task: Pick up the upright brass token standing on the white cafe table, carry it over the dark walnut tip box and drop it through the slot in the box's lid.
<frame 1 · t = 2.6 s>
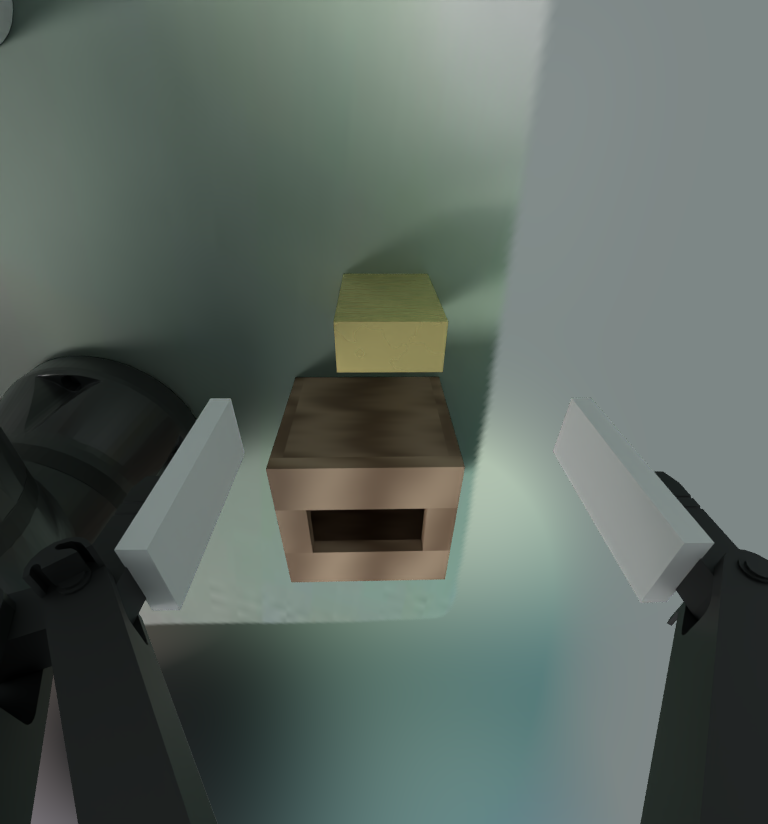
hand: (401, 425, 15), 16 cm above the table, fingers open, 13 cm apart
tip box: (368, 433, 36), on the table
token: (385, 294, 28), on the table
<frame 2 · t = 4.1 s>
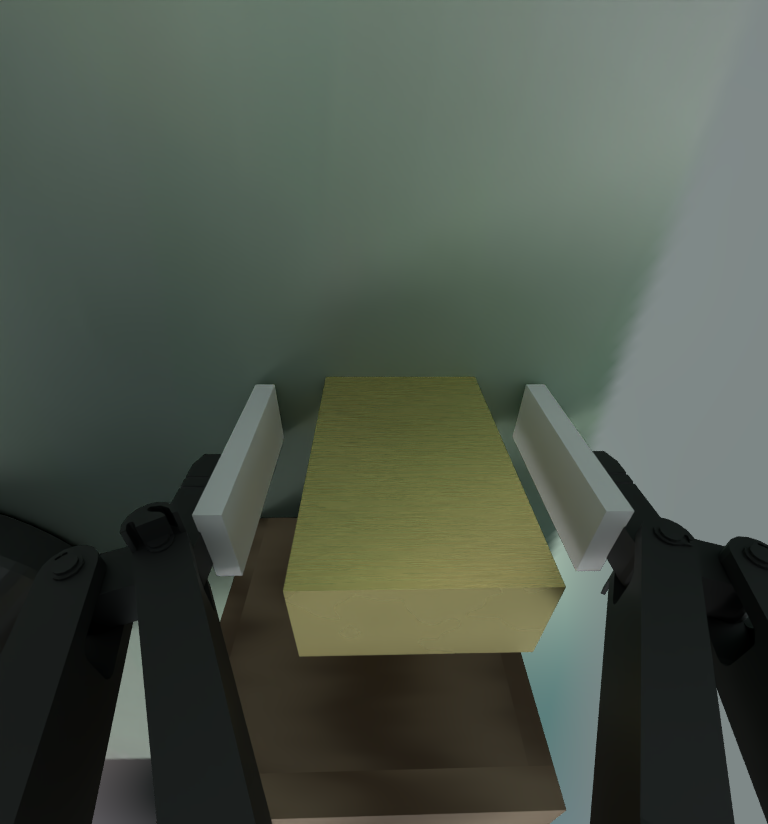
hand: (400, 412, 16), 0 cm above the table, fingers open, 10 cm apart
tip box: (369, 581, 24), on the table
token: (399, 407, 16), on the table
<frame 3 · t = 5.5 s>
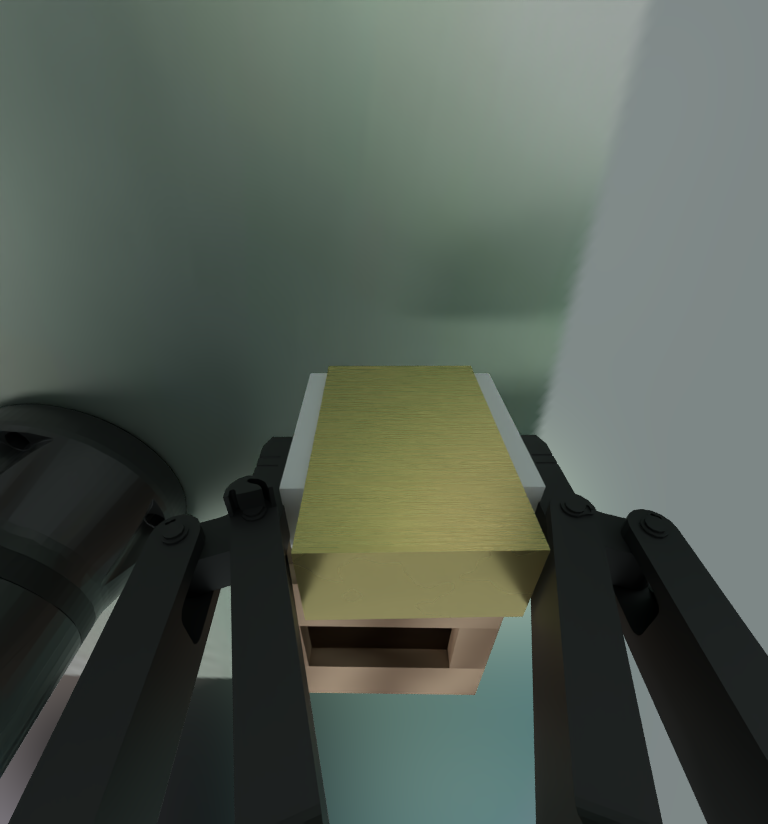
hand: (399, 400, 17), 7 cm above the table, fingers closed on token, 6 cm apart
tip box: (381, 494, 30), on the table
token: (398, 395, 17), point 6 cm above the table, touching gripper
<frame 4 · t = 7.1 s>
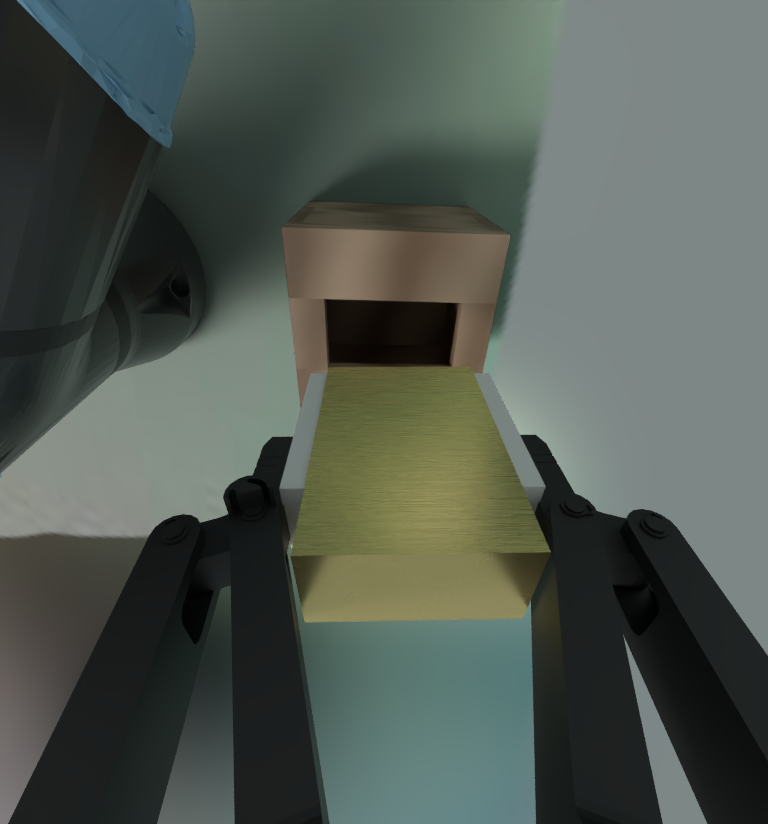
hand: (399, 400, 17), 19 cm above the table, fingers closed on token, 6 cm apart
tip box: (387, 284, 33), on the table
token: (398, 396, 17), point 18 cm above the table, touching gripper
when the fingers open (11 cm above the table, at t = 8.8 s): token drops 10 cm, resting on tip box.
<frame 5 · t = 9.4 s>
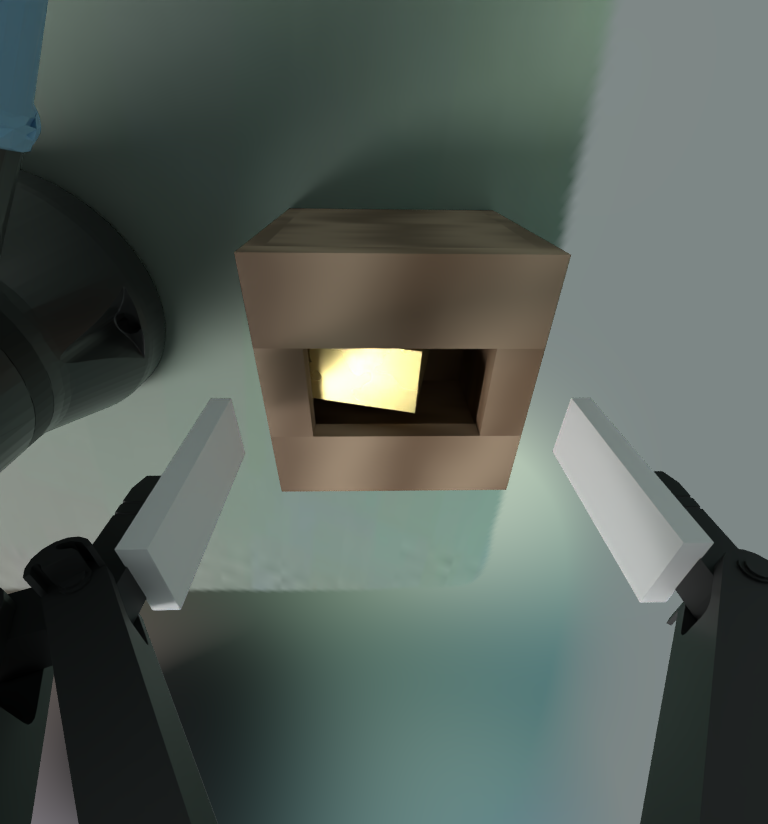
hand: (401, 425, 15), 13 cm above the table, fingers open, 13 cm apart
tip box: (389, 308, 26), on the table
token: (387, 316, 25), point 2 cm above the table, tilted 13°, touching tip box
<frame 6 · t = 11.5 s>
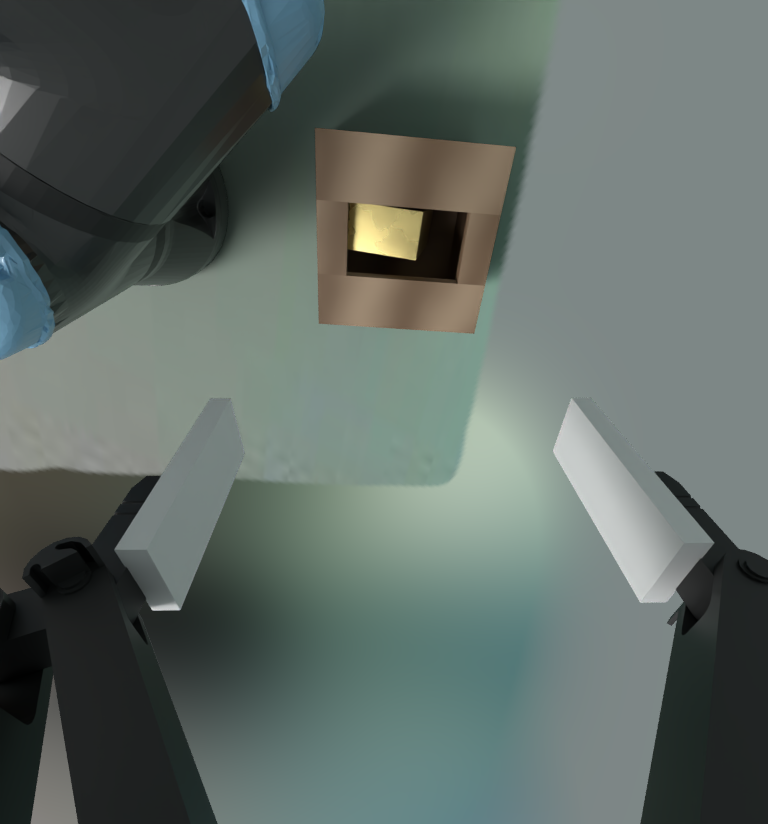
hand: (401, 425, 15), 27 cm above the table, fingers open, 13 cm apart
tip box: (397, 219, 35), on the table
token: (396, 221, 34), point 2 cm above the table, tilted 13°, touching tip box
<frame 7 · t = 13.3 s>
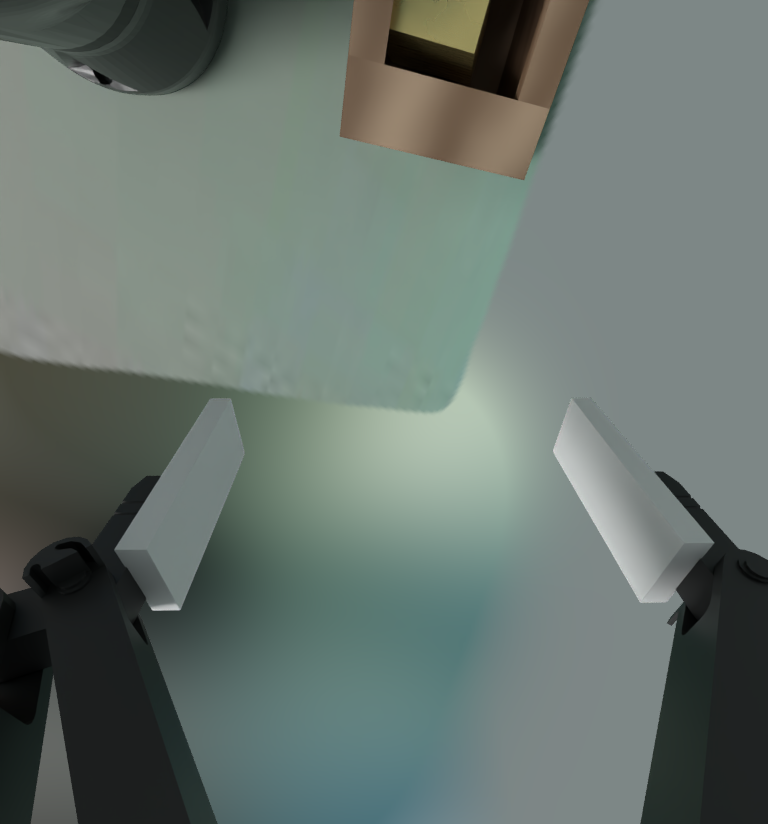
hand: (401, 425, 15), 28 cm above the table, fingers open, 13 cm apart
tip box: (436, 51, 29), on the table
token: (437, 47, 28), point 2 cm above the table, tilted 13°, touching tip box
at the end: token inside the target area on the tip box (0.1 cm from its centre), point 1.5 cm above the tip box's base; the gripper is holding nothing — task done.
